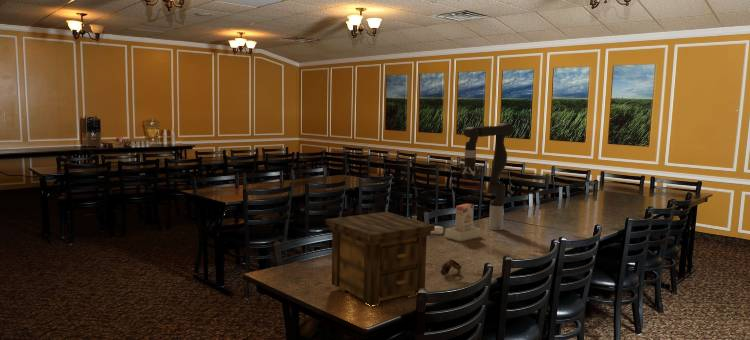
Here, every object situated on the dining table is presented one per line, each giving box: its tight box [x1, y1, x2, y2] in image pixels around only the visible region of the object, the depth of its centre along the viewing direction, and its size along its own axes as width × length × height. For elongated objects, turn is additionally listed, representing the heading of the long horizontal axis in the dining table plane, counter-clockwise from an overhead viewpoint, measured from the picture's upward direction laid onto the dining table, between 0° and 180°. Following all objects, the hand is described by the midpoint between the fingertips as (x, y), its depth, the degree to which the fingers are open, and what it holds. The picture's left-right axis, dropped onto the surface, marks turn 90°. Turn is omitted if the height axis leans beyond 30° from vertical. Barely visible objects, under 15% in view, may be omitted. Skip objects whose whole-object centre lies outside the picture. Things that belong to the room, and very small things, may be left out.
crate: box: [324, 211, 436, 306], centre depth 237 cm, size 35×35×33 cm
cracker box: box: [454, 203, 474, 232], centre depth 344 cm, size 14×6×21 cm, turn 143°
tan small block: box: [431, 225, 444, 235], centre depth 357 cm, size 8×8×4 cm
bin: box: [444, 226, 482, 242], centre depth 345 cm, size 13×21×6 cm, turn 129°
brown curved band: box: [440, 258, 462, 276], centre depth 267 cm, size 12×10×8 cm
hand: (469, 180), depth 354 cm, fingers open, 8 cm apart
